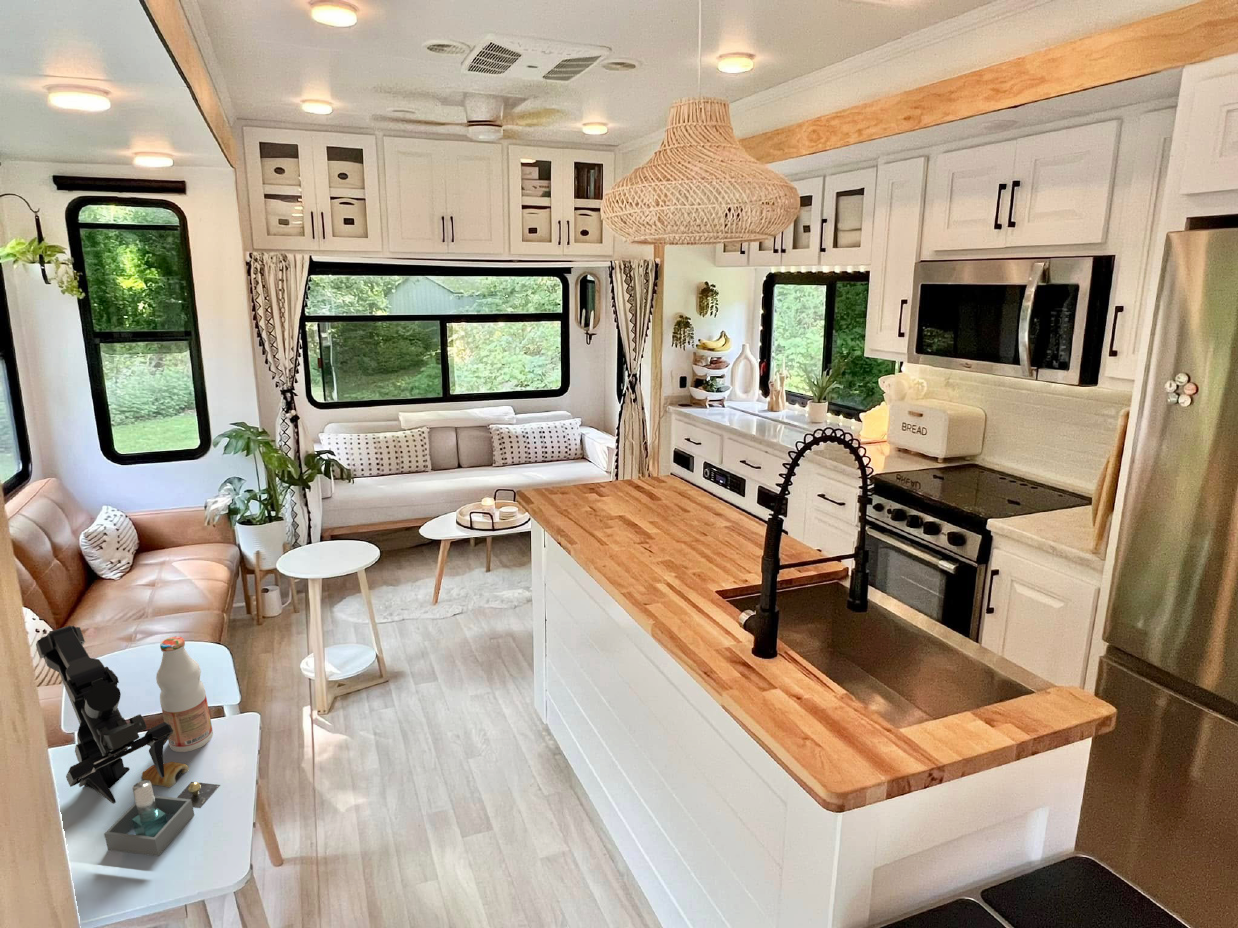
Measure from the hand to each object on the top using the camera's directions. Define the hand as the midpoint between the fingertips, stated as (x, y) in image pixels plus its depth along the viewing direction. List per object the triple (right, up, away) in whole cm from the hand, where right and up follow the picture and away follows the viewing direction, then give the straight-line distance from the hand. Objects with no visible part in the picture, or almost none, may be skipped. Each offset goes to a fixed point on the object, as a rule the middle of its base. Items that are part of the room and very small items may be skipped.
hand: (139, 789), depth 157 cm
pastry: (-5, -5, +18) cm, 19 cm away
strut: (+2, -10, +2) cm, 10 cm away
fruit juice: (-6, -1, +30) cm, 30 cm away
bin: (+2, -10, +2) cm, 11 cm away
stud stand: (+5, -7, +12) cm, 15 cm away
